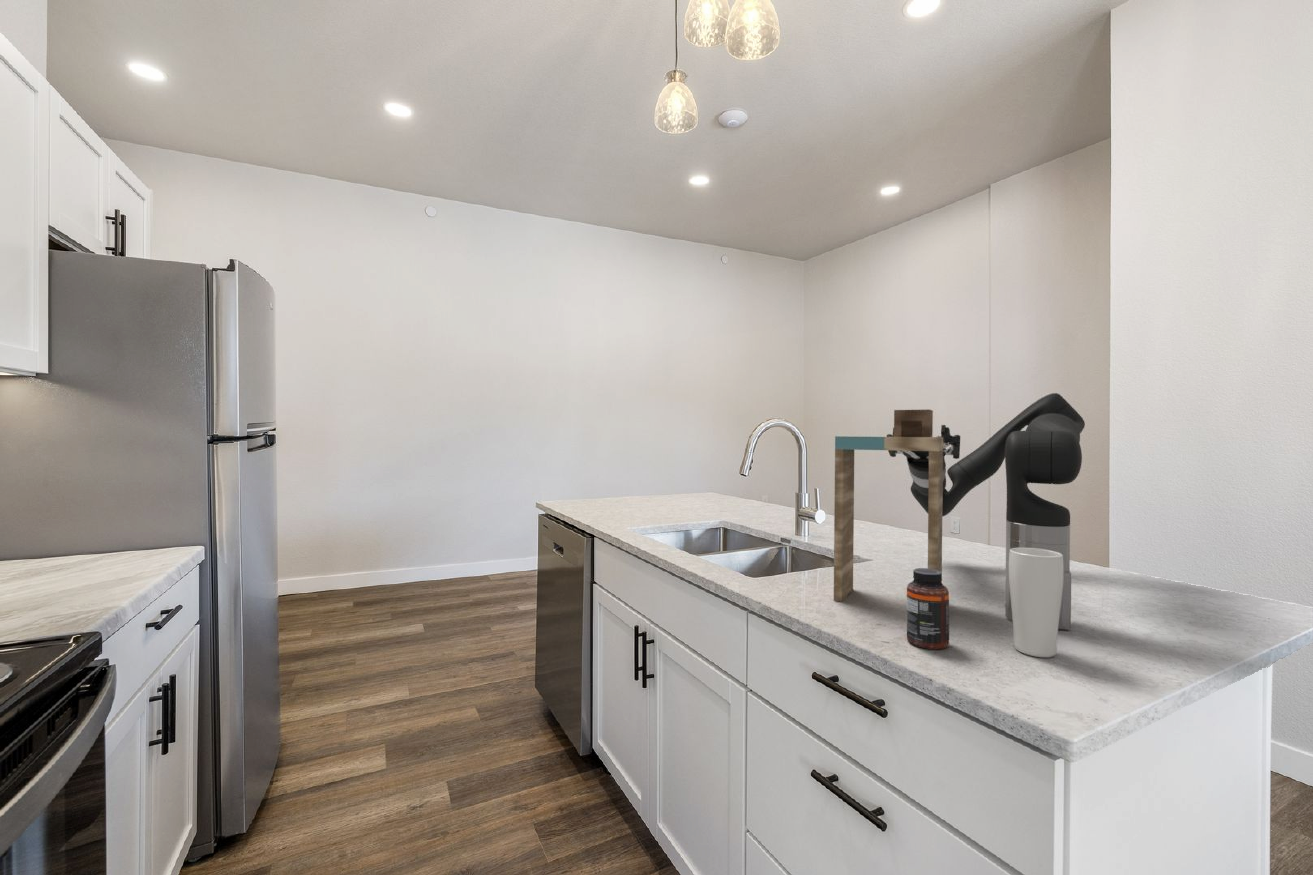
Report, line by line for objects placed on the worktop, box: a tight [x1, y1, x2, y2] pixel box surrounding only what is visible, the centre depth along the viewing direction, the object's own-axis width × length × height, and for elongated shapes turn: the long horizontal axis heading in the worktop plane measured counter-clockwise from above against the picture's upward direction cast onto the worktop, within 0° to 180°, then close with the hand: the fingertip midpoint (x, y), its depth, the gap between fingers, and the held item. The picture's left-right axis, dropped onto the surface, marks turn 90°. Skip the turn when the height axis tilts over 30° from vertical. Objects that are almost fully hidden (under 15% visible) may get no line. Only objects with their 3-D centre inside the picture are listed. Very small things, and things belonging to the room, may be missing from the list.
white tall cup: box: [1009, 548, 1064, 659], centre depth 83 cm, size 7×7×15 cm
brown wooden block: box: [893, 409, 934, 437], centre depth 109 cm, size 6×18×5 cm, turn 148°
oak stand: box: [833, 435, 943, 602], centre depth 108 cm, size 18×10×32 cm, turn 58°
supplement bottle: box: [906, 567, 950, 650], centre depth 86 cm, size 6×6×11 cm
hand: (919, 428), depth 114 cm, fingers open, 8 cm apart
